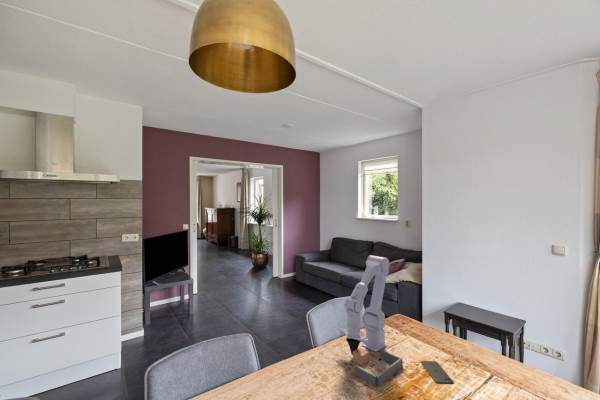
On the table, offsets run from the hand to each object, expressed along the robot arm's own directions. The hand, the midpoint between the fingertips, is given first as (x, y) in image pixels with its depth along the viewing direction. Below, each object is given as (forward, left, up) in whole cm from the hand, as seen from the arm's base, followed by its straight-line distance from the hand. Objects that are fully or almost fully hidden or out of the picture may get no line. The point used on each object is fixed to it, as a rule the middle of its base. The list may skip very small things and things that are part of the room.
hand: (353, 354), depth 123 cm
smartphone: (-17, +30, -2) cm, 34 cm away
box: (0, +13, -1) cm, 13 cm away
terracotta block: (0, +4, -1) cm, 4 cm away
